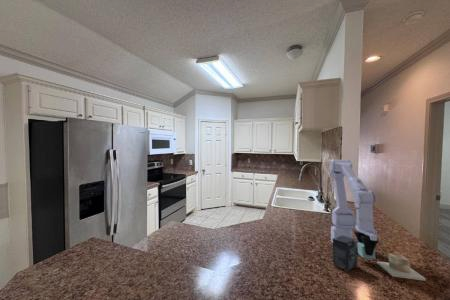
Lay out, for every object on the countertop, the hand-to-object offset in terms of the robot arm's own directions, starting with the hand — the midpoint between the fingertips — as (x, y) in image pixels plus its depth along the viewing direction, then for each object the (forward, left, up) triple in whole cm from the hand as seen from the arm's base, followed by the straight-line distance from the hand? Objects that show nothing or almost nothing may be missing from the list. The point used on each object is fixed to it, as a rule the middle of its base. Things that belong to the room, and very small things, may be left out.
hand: (366, 252), depth 80 cm
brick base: (+9, -5, -3) cm, 11 cm away
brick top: (0, 0, -2) cm, 2 cm away
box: (-10, -6, -4) cm, 12 cm away
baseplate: (+9, -5, -4) cm, 11 cm away
